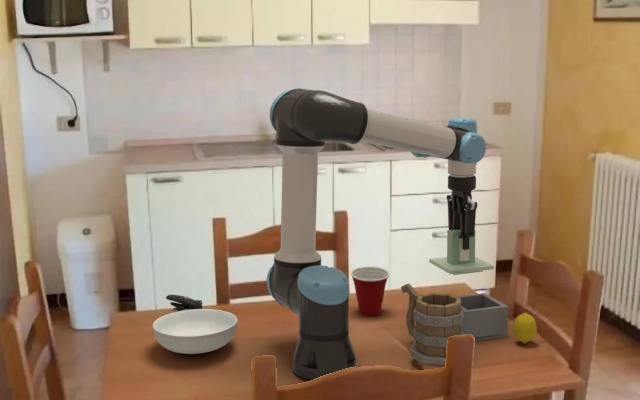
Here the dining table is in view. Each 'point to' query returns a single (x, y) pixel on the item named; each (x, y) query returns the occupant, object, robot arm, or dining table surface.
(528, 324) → the lemon
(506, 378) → the dining table surface
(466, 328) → the parts tub
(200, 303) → the black stapler
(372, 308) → the plastic cup
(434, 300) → the tankard
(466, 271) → the lid
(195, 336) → the serving bowl
